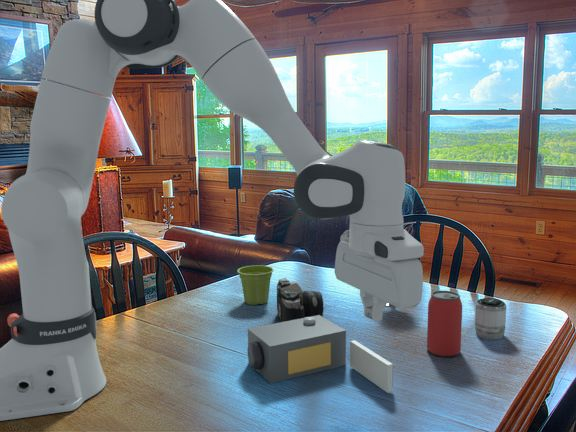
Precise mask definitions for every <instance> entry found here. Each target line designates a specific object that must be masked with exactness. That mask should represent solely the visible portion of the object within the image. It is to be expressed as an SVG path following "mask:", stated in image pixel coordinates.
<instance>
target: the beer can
mask: <svg viewBox="0 0 576 432" xmlns="http://www.w3.org/2000/svg"><path fill="white" fill-rule="evenodd" d="M430 295H431V296H430V298H429V300H428V304H427V331H426V334H427V336H426V350H428V352H430V353H431V354H432V355H435V356H438V357H442V358H444V357H447V358H448V357H449V358H450V357H455V356H457V355H458V354H460V352H461V349H462V348H461V347H462V344H461V343H462V325H463V324H462V322H463V321H462V320H463V303H462V300H461V295H460V294H459V293H458V292H455V291H451V290H436V291H433V292H431V294H430Z"/></svg>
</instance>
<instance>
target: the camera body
mask: <svg viewBox="0 0 576 432" xmlns="http://www.w3.org/2000/svg"><path fill="white" fill-rule="evenodd" d="M346 350H347V330H346V329H344V328H342V327H341V326H339V325H337V324H336V323H334V322H332V321H330V320H328V319H327V318H325V317H324V316H323V317H322V316H320V315H317V316H311V317H305V318H301V319H296V320H291V321H285V322H282V321H281V322H275V323H270V324H266V325H260V326H256V327H255V326H254V327H250V328H247V360H248V364H249V365H250V367H251V368H252V370H255V371H257V372H258V373H259V374H260V375H261V376H262V377H263V378H264V379H265V380H267V382H269V383H270V384H274V383H279V382H282V381H283V382H284V381H287V380H290V379H295V378H299V377H304V376H307V375H311V374H315V373H319V372H323V371H327V370H331V369H335V368H339V367H340V368H341V367H343V366H347V365H346V364H347V363H346V362H347V361H346V360H347V358H346V357H347V355H346V354H347V351H346Z"/></svg>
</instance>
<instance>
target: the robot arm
mask: <svg viewBox="0 0 576 432" xmlns="http://www.w3.org/2000/svg"><path fill="white" fill-rule="evenodd" d="M179 57H181V58H183V59H184V60H185V61H186V62H187V63H189V65H190V66H191V67H192V68H193V69H194V71H195V72H196V74H197V75H198V76H199V79H201V81H203V82H202V83H204V85H205V86H206V88H208V90H209V92H211V93H212V95H214V97H215V98H216V99H217V100H218V101H219V102H220V103H221V104H222V105H223V106H225V108H226V109H228V110H229V111H230V112H232V113H233V114H235V115H237V116H238V117H240V118H242V119H245V120H247V121H249V122H250V123H252V124H254V125H255V126H257V127H258V128H259V129H260V130H262V131H263V132H265V134H266V135H267V136H268V137H269V138H270V139H271V140H272V142H273V143H274V145H275V146H276V147H277V148H278V150H279V151H280V152H281V154H282V155H283V156H284V158H285V159H286V160H287V161H288V162H289V164H290V165H291V167H292V168H293V169H294V172H295V174H296V176H297V177H296V179H295V182H294V184H293V197H294V201H295V203H296V206H298V208H299V209H300V210H301V212H303V213H304V214H305V215H306V216H309V217H311V218H314V219H317V220H329V219H334V218H340V217H347V216H348V217H349V229H347V230H344V232H343V233H342V234H341V235H340V241H339V242H338V244H337V248H336V253H335V262H334V275H335V278H336V279H337V280H338V281H341V282H343V284H344V283H345V284H346V285H349V286H351V287H352V288H355V289H357V290H359V296H360V299H361V303H362V305H363V316H364V317H366V318H368V319H371V320H372V321H373V322H378V321H381V320H382V319H383V311H384V309H385V308H386V307H385V306H386V304H387V303H390V304H392V305H394V306H396V307H395V308H398V309H401V310H403V309H410V308H416V307H417V306H419V304H420V303H421V301H422V299H423V298H422V297H423V288H424V287H423V285H424V284H423V283H424V281H423V280H424V276H423V275H424V273H423V272H424V271H423V264H422V262H421V261H420V258H423V256H424V254H425V253H424V252H425V248H424V245H423V244H422V243H421V242H420V241H418V240H417V239H416V238H414V236H412V235H411V234H410V233H409V231H408V230H407V229H405V228H404V215H403V208H402V207H403V202H404V199H405V195H406V167H405V166H406V164H405V159H404V158H405V157H404V155H403V153H402V151H401V150H400V149H399V148H398V147H396V146H395V145H392V144H389V143H386V142H382V141H381V142H380V141H376V140H369V139H361V140H357V141H356V142H355V143H354V144H352V145H351V146H350V147H348V148H346V149H344V150H342V151H339V152H337V153H336V154H331V153H330V152H328V151H327V150H325V148H323V147H322V145H321V144H320V143H319V142H318V141H317V139H316V138H315V136H314V135H313V134H312V133H311V131H310V130H309V128H308V127H307V126H306V125H305V124H304V122H303V121H302V119H301V118H300V117H299V115H298V114H297V112H296V111H295V109H294V107H293V106H292V104H291V102H290V100H289V98H288V96H287V94H286V92H285V88H284V86H283V85H282V82H281V80H280V78H279V76H278V74H277V71H276V69H275V67H274V65H273V63H272V61H271V59H270V58H269V57H268V55H267V53H266V51H265V50H264V48H263V47H262V44H260V43H259V41H258V40H257V39H256V37H255V36H254V34H253V32H251V30H250V29H249V28H248V27H247V26H246V24H245V23H244V22H243V21H242V20H241V19H240V18H239V16H238V15H237V14H236V13H235V12H234V11H233V10H232V9H231V8H230V7H229V6H228V5H226V3H224V2H223V1H222V0H189V1H187V2H186V3H185V4H183V5H177V2H176V1H175V0H96V3H95V7H94V21H93V20H89V19H85V18H83V19H82V18H79V19H78V18H77V19H75V18H74V19H70V20H67V21H65V22H64V23H63V24H61V26H60V27H59V29H58V32H57V34H55V37H54V39H53V42H52V44H51V47H50V50H49V52H48V55H47V57H46V60H45V63H44V66H43V68H42V73H41V74H42V75H41V78H40V82H39V87H38V90H37V94H36V99H35V102H34V107H33V111H32V117H31V121H30V126H29V130H30V133H29V134H30V136H29V137H30V138H29V139H30V141H29V149H28V150H29V151H28V160H27V167H26V172H25V174H24V175H21V176H19V177H18V178H16V179H15V180H14V181H13V182H12V183H11V184H10V185H9V187H8V189H7V190H6V192H5V194H4V196H3V200H2V203H1V209H0V210H1V211H0V212H1V217H2V221H3V223H4V225H5V226H6V228H7V231H8V236H9V240H10V243H11V244H10V245H11V247H12V251H13V254H14V256H15V261H16V266H17V271H18V275H19V276H18V277H19V284H20V286H19V287H20V293H21V294H20V295H21V296H20V297H21V304H22V305H21V306H22V314H21V315H18V314H17V313H15V312H14V313H10V314H9V315H8V317H7V320H6V321H7V325H8V326H9V327H10V333H11V339H10V340H9V341H8V342H7V343H5V344H4V345H3V346H2V347H0V422H1V421H2V422H3V421H9V420H17V419H23V418H30V417H31V418H32V417H39V416H44V415H50V414H59V413H65V412H71V411H75V410H76V409H77V408H79V407H80V406H81V405H82V404H83V403H84V402H85V401H87V400H88V399H90V398H92V397H93V396H96V395H97V394H98V393H100V392H101V391H102V390H103V389H104V387H105V386H106V385H107V378H106V374H105V372H104V370H103V366H102V364H101V360H100V357H99V352H98V348H97V343H96V339H97V333H98V331H97V317H96V316H97V315H96V312H95V311H96V310H95V308H94V306H93V305H92V293H91V281H90V280H91V279H90V265H89V264H90V263H89V262H88V259H87V254H86V249H85V248H86V247H85V244H84V237H83V231H82V230H83V229H82V223H81V222H82V219H81V218H82V217H83V216H84V214H85V213H86V210H87V209H88V206H89V201H90V195H91V191H92V187H93V181H94V178H95V177H94V176H95V172H96V167H97V163H98V162H97V161H98V155H99V149H100V144H101V139H102V136H103V133H104V132H103V131H104V128H105V124H106V119H107V115H108V111H109V107H110V103H111V98H112V95H113V91H114V87H115V86H114V85H115V84H116V83H115V82H116V80H117V77H118V75H119V73H120V72H121V70H122V69H123V68H124V67H126V68H128V69H132V70H133V69H135V70H136V69H159V68H164V67H167V66H170V65H172V64H173V63H175V62H176V61H178V59H179Z"/></svg>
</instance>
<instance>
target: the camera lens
mask: <svg viewBox="0 0 576 432" xmlns="http://www.w3.org/2000/svg"><path fill="white" fill-rule="evenodd" d="M474 310H475V312H474V313H475V314H474V315H475V316H474V317H475V318H474V328H475V329H474V330H475V335H476V336H477V337H479V338H481V339H486V340H492V341H494V340H501V339H503V338H504V336H505V333H506V331H505V330H506V321H507V304H506V303H505V302H504V301H503V300H501V299H498V298H495V297H484V298H480V299H478V300H477V301H476V302H475V309H474Z"/></svg>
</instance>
